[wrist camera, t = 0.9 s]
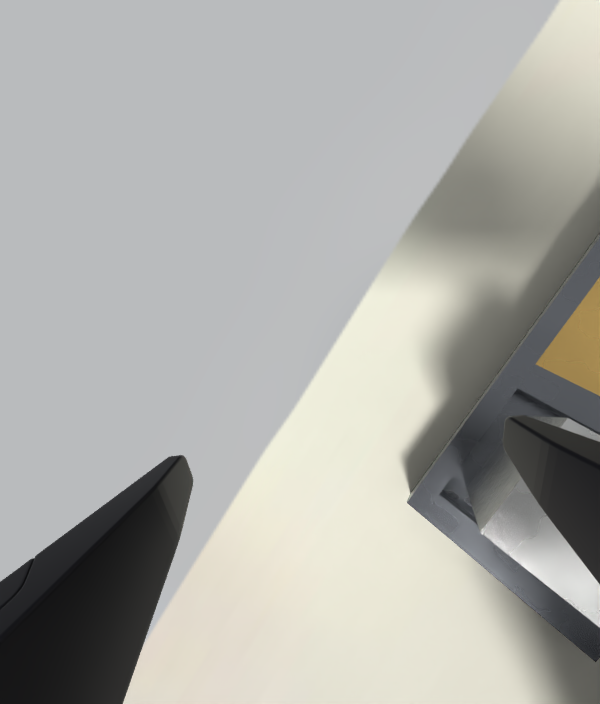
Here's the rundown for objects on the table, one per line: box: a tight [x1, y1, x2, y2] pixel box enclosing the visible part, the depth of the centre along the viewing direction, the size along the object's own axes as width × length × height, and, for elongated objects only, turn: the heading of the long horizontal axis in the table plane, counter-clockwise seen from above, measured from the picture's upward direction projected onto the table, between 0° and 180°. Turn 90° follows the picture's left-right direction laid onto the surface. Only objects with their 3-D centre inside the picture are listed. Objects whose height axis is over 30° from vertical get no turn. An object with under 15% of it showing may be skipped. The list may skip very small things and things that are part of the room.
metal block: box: [466, 416, 600, 627], centre depth 12 cm, size 5×5×7 cm
